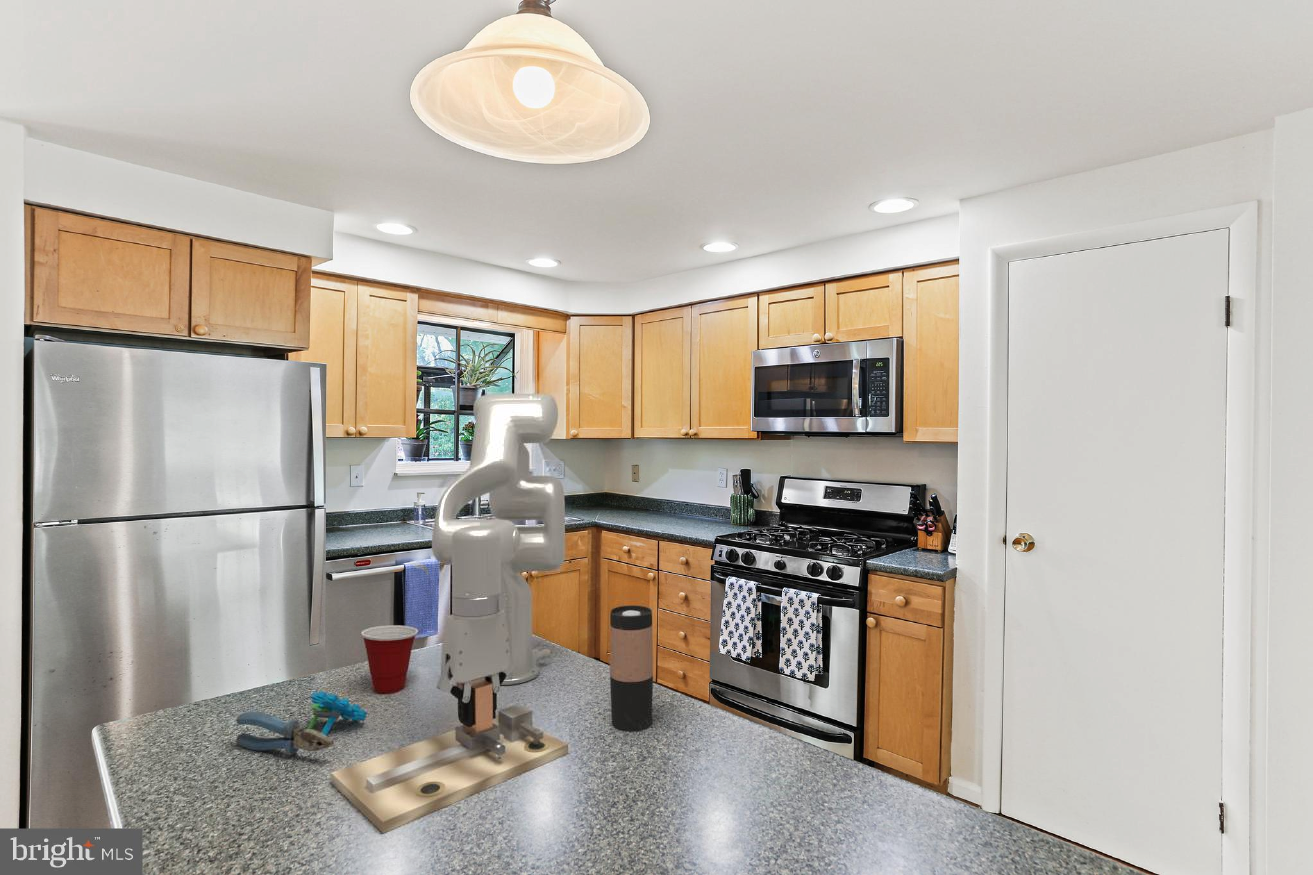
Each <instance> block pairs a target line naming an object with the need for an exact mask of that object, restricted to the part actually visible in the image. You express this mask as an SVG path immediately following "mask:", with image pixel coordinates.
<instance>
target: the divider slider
mask: <svg viewBox="0 0 1313 875" xmlns="http://www.w3.org/2000/svg"><path fill="white" fill-rule="evenodd" d="M470 700H471V701H473V726H472V727H467V726H465V725H464V724H461V725H457V726H455V729H454V730H455V740H457V741H458V742H460V743H461V744H463V745H464V746H466V747H468V748H469V749H471V750H474V749H476V748H479V747H482V746H483V747H485V748H487V749H488V750H490V751H492V752H493V753H495V759H496V760H499V759H501V758H502V754H504V753H505V746H504V745H502V744H500V743H499V742H497V740H500V727H499V726H497V725H496V724H494V723H493V684H492V683H490V682H488V681H486V680H484V679H482V678H481V679H477V680H474V681H472V684H471V693H470Z"/></svg>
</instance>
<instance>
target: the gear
mask: <svg viewBox="0 0 1313 875" xmlns="http://www.w3.org/2000/svg"><path fill="white" fill-rule="evenodd" d="M311 702H312V703H313V704H312V706H311V708H310V709H311V710H313V712H312V716H313V718H312V719H311V721H310V723H309V725H308V726H307V729H312V730H313V727H314V726H315V724H316V723H317V721H318V719H320V718H321V719H328V720H327V722H326V724H324V727H323V729H322V730H321V731H320V732H321V733H323V734H324V735H326V736H327V737H328V733H329V732H330V730H331V728H332V727H333V725H334V723H335V721H336V720H339V717H341V718H342V719H344V720H349V719H351V720H352V721H353V722H359V721H361V722H364V721H365V719H366V717H367V714H368V712H367V711H365V710H363V709H361V708H362V707H361V705H358V704H355V703H354V704H353V705H352V704H350V702H351V701H350V700H349V699H347V698H344V697H342V699H340V698H339V697H338V696H337V695H336V694H335V693H334V694H333V693H329V694H327V693H326V692H324V691H318V693H317V692H314V691H313V694H312V695H311Z"/></svg>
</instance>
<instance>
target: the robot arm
mask: <svg viewBox="0 0 1313 875" xmlns="http://www.w3.org/2000/svg"><path fill="white" fill-rule="evenodd" d="M558 410H559V409H558V403H557V402H556V400H555V397H554V396H552V395H551V394H547V393H491V394H490V393H489V394H484V395H482V396H479V397H478V398H476V399H475V401H474V403H473V417H474V421H475V425H474V432H473V440H472V446H471V451H470V452H471V454H470V460H469V461H470V462H469V466H468V468H467V469H466V470H465V471H464V470H463V472H462V473H460V474H459V475H458V476H457V477H456V478H455V479H454V480H452V482H451V483H450V484H449V486H448V487H447V488H446V490H444V492H443V494H442V495H441V497H440V499H439V501H438V504H437V507H436V512H435V517H434V524H433V529H432V537H431V548H432V549H431V550H432V555H433V556H434V558H435V560H436V561H438V562H439V563H440V564H443V565H446V566H447V565H450V566H451V576H452V577H451V578H452V579H451V584H452V585H451V586H452V588H451V591H452V592H451V597H452V598H451V602H452V603H451V605H452V607H451V609H452V610H451V611H452V612H451V613H452V614H450V615H447V617H446V620H445V626H444V629H443V634H442V635H443V636H442V644H441V655H440V656H441V660H440V673H441V674H440V676H439V678H438V681H437V683H436V689H438V690H439V691H441V692H445V693H447V694H451V695H452V696H453V697H454V698H455V699H457V718H458V721H459V722H460V724H461V725H463V724H464V725H465V726H467V727H472V726H473V701H471V700H470V693H471V684H472V681H474V680H477V679H481V678H482V679H484V680H486V681H488V682H490V683H492V684H493V719H495V718H496V715H497V713H496V711H497V709H498V705H497V704H498V702H497V701H498V699H497V698H498V696H497V694H498V693H499V692H500V691H501V686H511V685H518V684H522V683H526V682H529V681H532V680H533V679H535V678H537V677H538V675H539V674H540V666H539V664H537V663H538V662H539V661H540V660H541V659H543V660H544V659H547V658H550V657H551V655H552V653H551V652H552V651H551V650H550V648H544V649H540V650H539V648H533V615H532V614H533V604H532V603H533V599H532V598H533V597H532V596H533V594H532V593H533V592H532V590H531V587H530V585H529V583H528V582H527V581H526V579H525V578H524V577H523V576H522V574H521V573H525V572H528V573H529V572H552V571H553V572H554V571H557V570H559V569H560V568H562V566H563V565H564V562H565V558H566V556H565V555H566V514H565V513H566V508H565V506H566V501H565V492H564V487H563V484H562V481H561V480H560V479H559V478H557V477H555V476H552V475H531V473H530V457H531V456H530V452H529V450H528V448H527V447H526V445H525V444H545V443H548V442H549V441H551V439H552V437H553V434H554V432H555V430H556V427H557V424H558V419H559V411H558ZM487 494H489V495H488V500H489V501H488V502H489V510H490V513H491V515H492V516H493V518H495V519H479V518H478V519H476V518H475V519H473V518H471V519H456V517H457V516H458V513H459V512H460V511H461V509H463V507H465V506H466V505H467V504H468V503H470V502H472V501H473V500H476V499H477V498H480V497H482V496H484V495H487ZM512 521H540V522H542V524H543V525H542V526H525V525H524V526H523V525H522V526H516V524H515V523H513V522H512ZM452 679H453V682H454V683H455V684H453V683H451V681H452Z"/></svg>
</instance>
